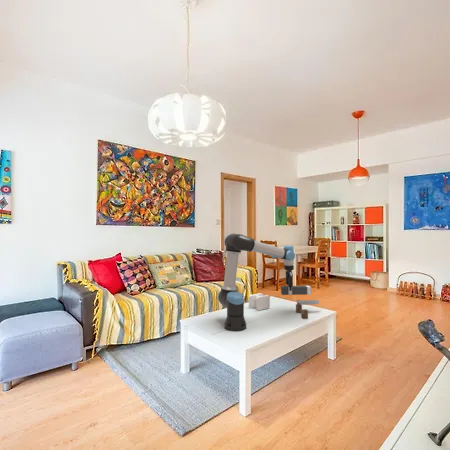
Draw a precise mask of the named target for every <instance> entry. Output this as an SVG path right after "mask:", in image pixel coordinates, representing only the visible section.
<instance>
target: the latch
mask: <svg viewBox="0 0 450 450" xmlns="http://www.w3.org/2000/svg"><path fill="white" fill-rule="evenodd" d="M319 301H320V300H318V299H309V300H308V299H303V300H300V299H297V300H296V304H297V305H302V306H304V305H306V306H307V305H319V304H320V302H319Z"/></svg>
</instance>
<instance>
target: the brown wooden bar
mask: <svg viewBox="0 0 450 450" xmlns="http://www.w3.org/2000/svg"><path fill="white" fill-rule="evenodd" d="M295 313H296V314H300V315H301V319H303V320H308V319H309V310H308V309H307V308H303V305H297V303H296V304H295Z"/></svg>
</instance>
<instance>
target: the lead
mask: <svg viewBox="0 0 450 450" xmlns="http://www.w3.org/2000/svg"><path fill="white" fill-rule="evenodd" d="M280 293H281V295H282V296H289V295H288V286H287V285H281V286H280ZM296 295H297V296H299V295H300V296H302V295H303V296H304V295H306V296H307V295H312V286H310V285H293V286H292V295H291V296H296Z"/></svg>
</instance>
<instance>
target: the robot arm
mask: <svg viewBox="0 0 450 450" xmlns="http://www.w3.org/2000/svg"><path fill="white" fill-rule="evenodd" d="M223 243H224V246H225V252H226V263H225V270H224V278H223V279H224V280H223V285H222V286H221V288H220V291H219V292H218V294H217V299H218V300H217V301H218V302H219V303H220V304H221V306H223V307H225V308H226V319H225V321H224V329H225V330H228V331H232V332H241V331H244V330H245V329H247V321H246V319H245V314H244V313H245V310H244V309H245V305H244V304H245V298H244V294H243V293H242V292H240V291H238V289H237V288H236V282H237V281H236V280H237V272H238V263H239V257H240V256H239V255H240V254H241V253H242V251H244V252H249V253H251V252H255V253H259V254H263V255H266V256H270V257H271V258H272V259H280V260H283V263H284V266H283V267H284V269H283V270H285V284H286V286H288V295H287V296H293V295H292V286H294V282H293V280H294V279H293V278H294V277H293V276H294V273H293V272H292V271H294V269H295V266H294V264H295V258H296V253H295V251H294V246H293V245H284V246H283V248H282V247H279V246H276V245H275V246H274V245H271V244H268V243H264V242H261V241H256V240H255V239H254V238H252V237H249V236H247V235H244V234H242V233H241V234H240V233H230V234H228V235H226V237H225V238H224V241H223Z"/></svg>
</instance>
